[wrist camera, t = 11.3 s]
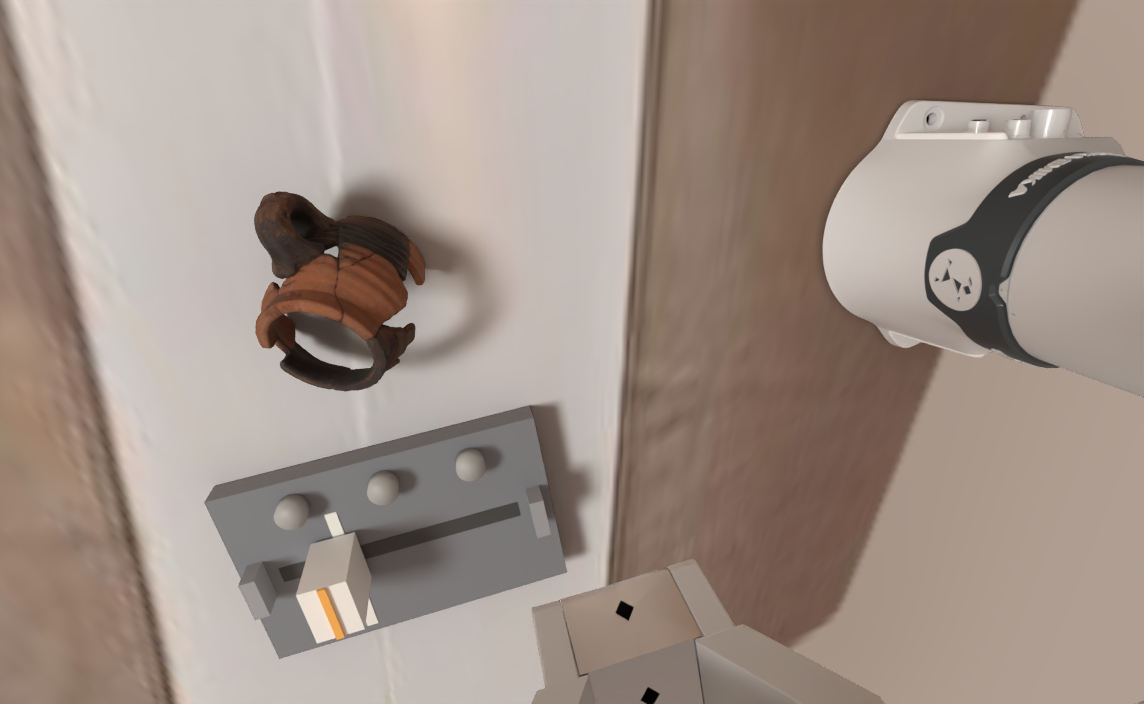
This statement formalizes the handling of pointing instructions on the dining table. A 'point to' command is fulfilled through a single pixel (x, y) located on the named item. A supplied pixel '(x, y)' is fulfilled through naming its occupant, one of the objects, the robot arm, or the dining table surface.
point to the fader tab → (335, 588)
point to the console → (397, 523)
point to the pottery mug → (334, 286)
